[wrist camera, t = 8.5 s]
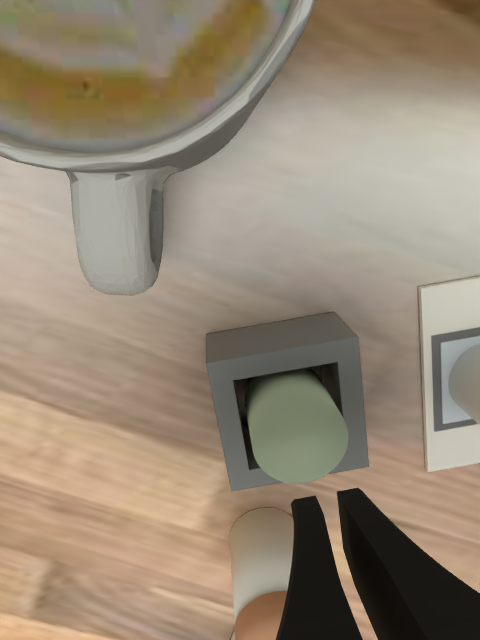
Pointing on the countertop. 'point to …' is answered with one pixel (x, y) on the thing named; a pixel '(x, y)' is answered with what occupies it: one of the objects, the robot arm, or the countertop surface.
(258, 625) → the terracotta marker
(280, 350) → the button housing
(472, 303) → the sheet
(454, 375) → the cylinder
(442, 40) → the countertop surface
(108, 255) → the coffee mug
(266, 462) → the button
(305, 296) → the countertop surface
